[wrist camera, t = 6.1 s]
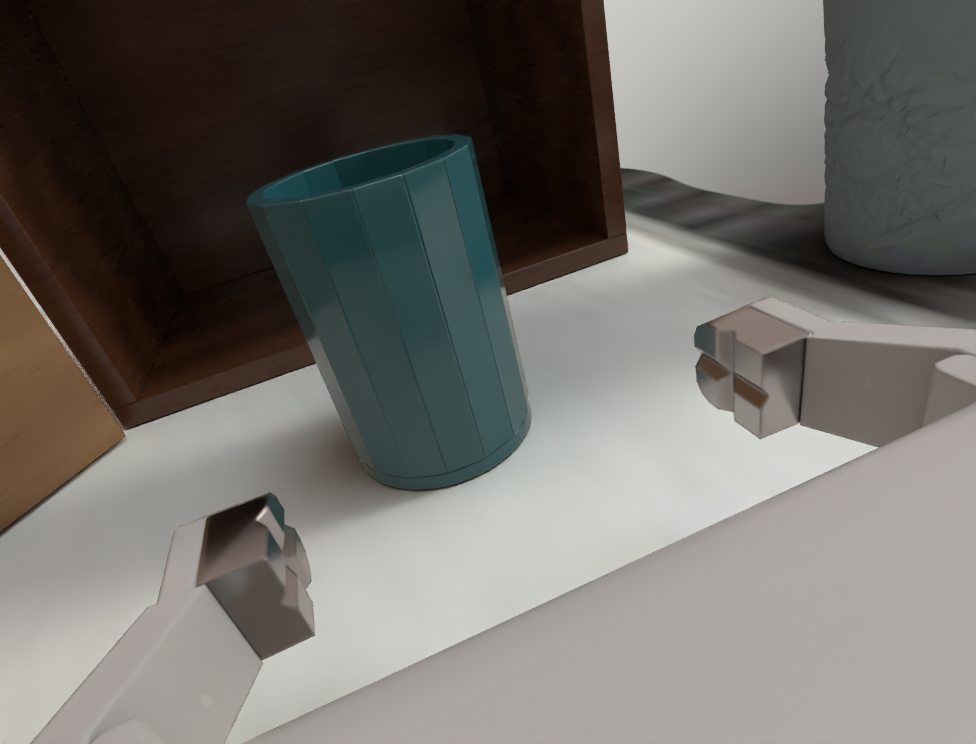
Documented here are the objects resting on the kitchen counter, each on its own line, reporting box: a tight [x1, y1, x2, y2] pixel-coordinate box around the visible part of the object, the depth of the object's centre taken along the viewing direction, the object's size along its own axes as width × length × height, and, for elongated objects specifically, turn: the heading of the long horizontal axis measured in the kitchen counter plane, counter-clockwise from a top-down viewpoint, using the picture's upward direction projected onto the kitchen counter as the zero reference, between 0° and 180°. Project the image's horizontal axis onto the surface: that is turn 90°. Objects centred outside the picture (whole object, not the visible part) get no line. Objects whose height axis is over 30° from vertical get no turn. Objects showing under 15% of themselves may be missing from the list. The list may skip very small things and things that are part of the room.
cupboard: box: [0, 0, 628, 429], centre depth 32 cm, size 18×28×24 cm, turn 110°
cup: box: [246, 134, 531, 490], centre depth 19 cm, size 7×7×10 cm
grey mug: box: [823, 0, 976, 275], centre depth 23 cm, size 10×10×12 cm
